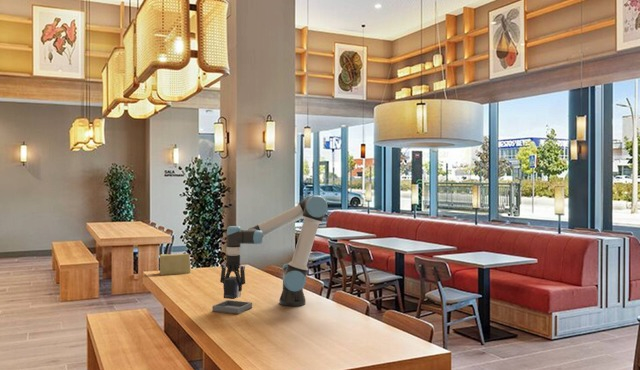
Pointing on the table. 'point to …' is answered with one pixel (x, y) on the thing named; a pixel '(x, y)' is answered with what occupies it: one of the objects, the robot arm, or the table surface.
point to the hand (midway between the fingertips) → (232, 296)
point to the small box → (230, 288)
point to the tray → (232, 307)
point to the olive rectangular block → (174, 264)
